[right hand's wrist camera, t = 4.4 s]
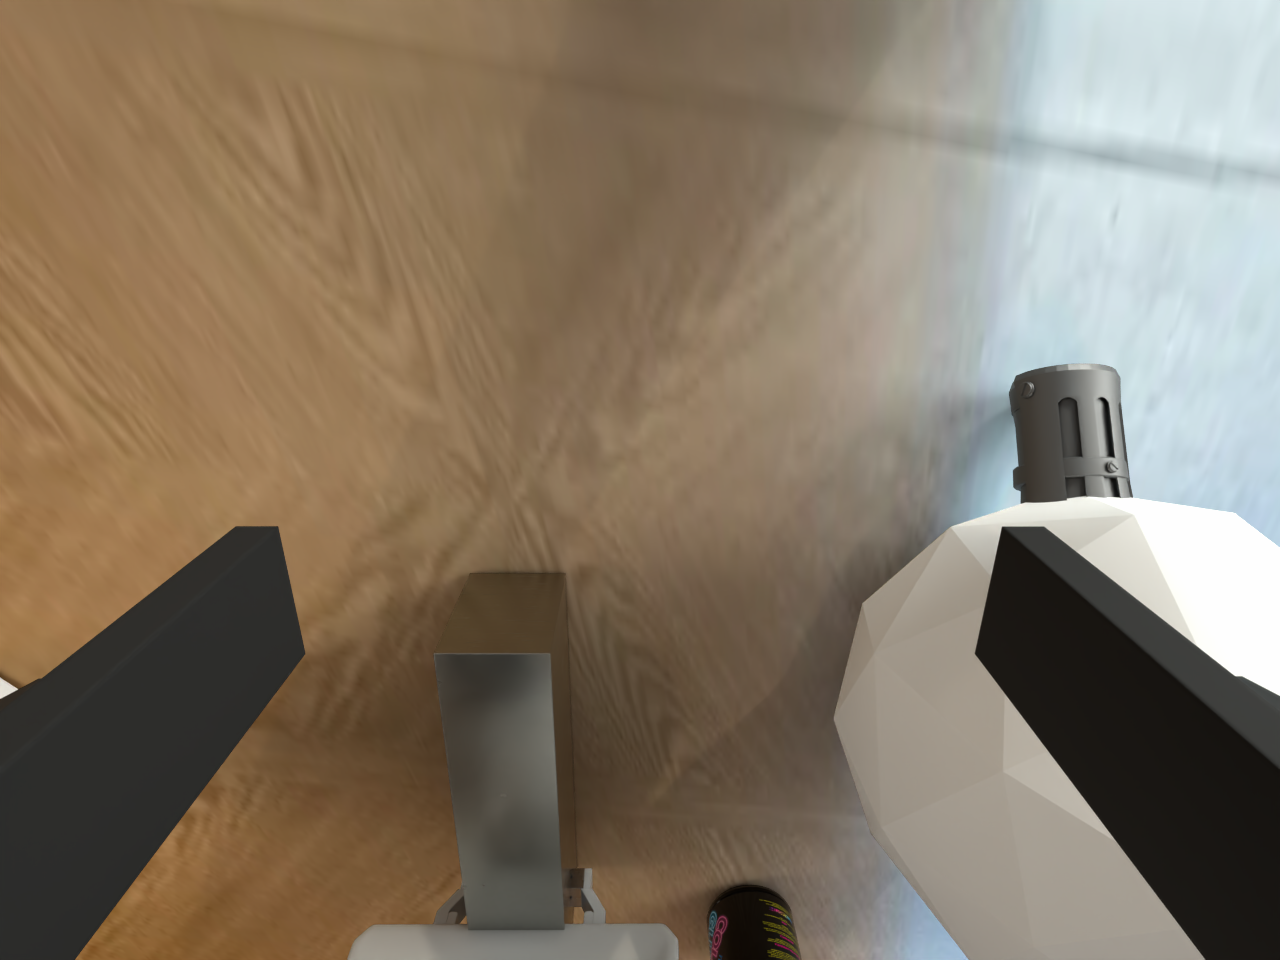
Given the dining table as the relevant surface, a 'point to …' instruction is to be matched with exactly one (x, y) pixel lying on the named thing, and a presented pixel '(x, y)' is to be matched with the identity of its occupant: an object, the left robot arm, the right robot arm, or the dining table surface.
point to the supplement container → (751, 926)
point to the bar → (510, 748)
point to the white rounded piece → (993, 728)
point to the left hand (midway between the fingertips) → (530, 874)
